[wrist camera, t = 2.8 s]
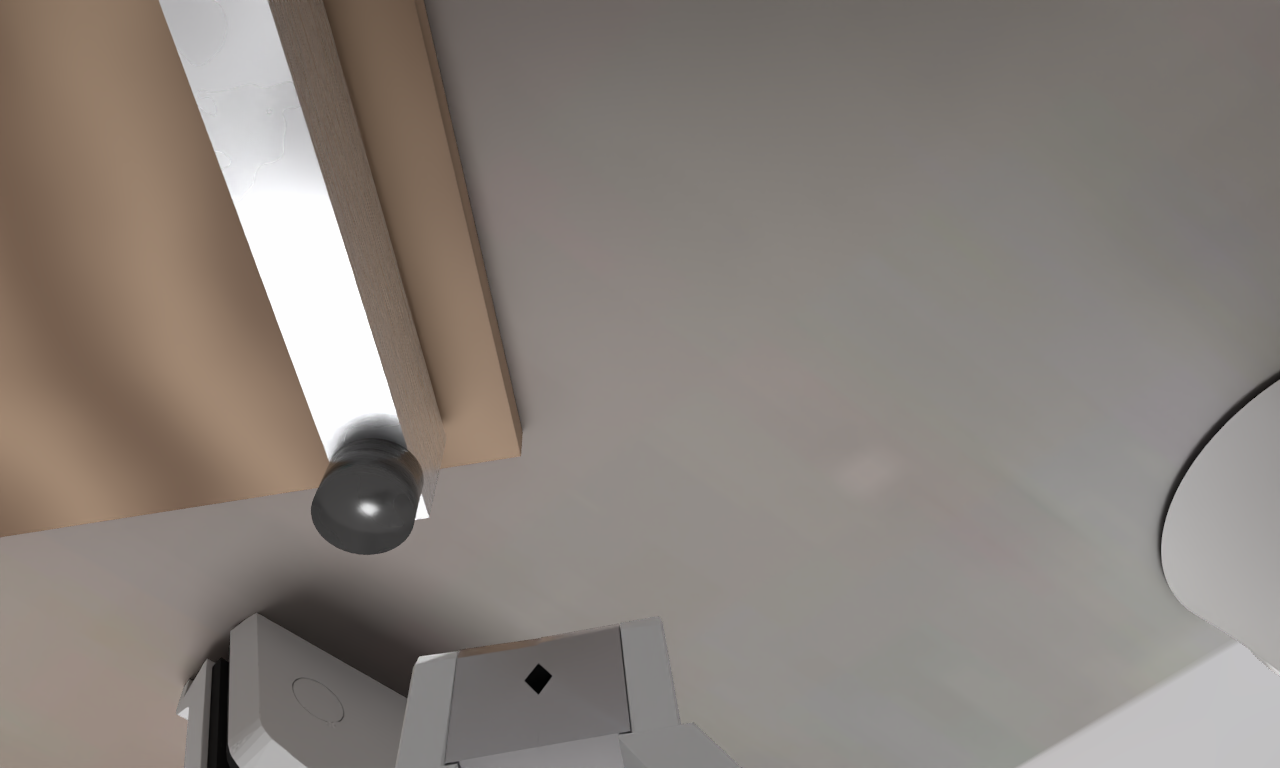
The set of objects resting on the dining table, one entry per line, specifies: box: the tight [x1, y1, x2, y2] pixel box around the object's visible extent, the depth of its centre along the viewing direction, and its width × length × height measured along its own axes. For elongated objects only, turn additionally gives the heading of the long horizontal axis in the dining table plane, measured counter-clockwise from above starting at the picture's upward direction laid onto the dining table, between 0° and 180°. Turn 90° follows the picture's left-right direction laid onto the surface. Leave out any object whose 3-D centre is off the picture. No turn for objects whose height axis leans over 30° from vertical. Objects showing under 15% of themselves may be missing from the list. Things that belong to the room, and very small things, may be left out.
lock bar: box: [159, 0, 447, 555], centre depth 19 cm, size 17×4×6 cm, turn 7°
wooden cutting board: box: [0, 0, 523, 537], centre depth 22 cm, size 22×20×2 cm
